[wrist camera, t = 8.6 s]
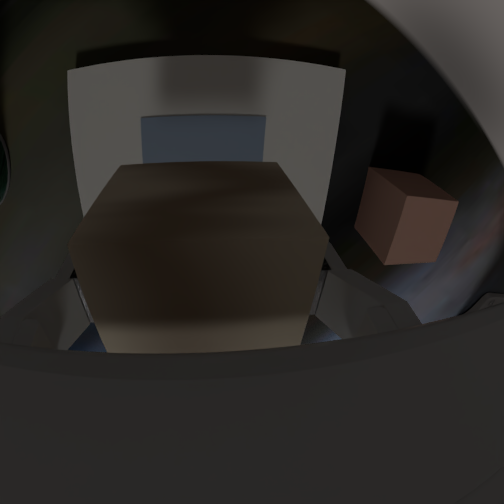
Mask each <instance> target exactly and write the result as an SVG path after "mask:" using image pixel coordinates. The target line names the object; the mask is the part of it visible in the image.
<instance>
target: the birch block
mask: <svg viewBox="0 0 504 504" xmlns="http://www.w3.org/2000/svg"><path fill="white" fill-rule="evenodd" d="M328 240H329V236H328V235H327V233H326V232H325V230H324V229H323V227H322V226H321V224H320V223H319V221H318V220H317V218H316V217H315V215H314V214H313V212H312V211H311V209H310V208H309V207H308V205H307V204H306V202H305V201H304V199H303V198H302V196H301V195H300V194H299V192H298V191H297V189H296V188H295V186H294V185H293V184H292V182H291V181H290V179H289V178H288V177H287V175H286V174H285V173H284V171H283V170H282V168H281V167H280V166H279V164H278V163H277V162H256V161H191V162H163V163H144V164H129V165H120V166H119V168H118V169H117V170H116V172H115V173H114V174H113V176H112V177H111V178H110V180H109V181H108V183H107V184H106V185H105V187H104V188H103V190H102V191H101V192H100V194H99V195H98V197H97V198H96V200H95V201H94V203H93V204H92V206H91V207H90V209H89V210H88V212H87V213H86V215H85V216H84V218H83V220H82V221H81V223H80V224H79V226H78V227H77V229H76V231H75V232H74V234H73V236H72V237H71V239H70V241H69V242H68V244H67V246H68V249H69V253H70V256H71V259H72V262H73V266H74V269H75V272H76V275H77V278H78V281H79V284H80V286H81V289H82V292H83V295H84V297H85V300H86V303H87V305H88V308H89V311H90V313H91V316H92V318H93V321H94V323H95V325H96V328H97V330H98V332H99V335H100V337H101V339H102V342H103V344H104V346H105V348H106V350H107V353H203V352H224V351H240V350H254V349H266V348H276V347H286V346H295V345H300V343H301V340H302V337H303V333H304V330H305V327H306V323H307V320H308V316H309V313H310V309H311V306H312V302H313V299H314V295H315V291H316V288H317V284H318V280H319V276H320V272H321V269H322V265H323V261H324V257H325V253H326V249H327V244H328Z"/></svg>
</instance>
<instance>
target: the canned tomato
mask: <svg viewBox="0 0 504 504" xmlns="http://www.w3.org/2000/svg"><path fill="white" fill-rule="evenodd" d="M10 173H11V169H10V159H9V154H8V150H7V147H6V144H5V141H4V139H3V137H2V135H1V133H0V204H1V203H2V202H3V200H4V198H5V197H6V194H7V191H8V189H9V183H10Z"/></svg>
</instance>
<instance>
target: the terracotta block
mask: <svg viewBox="0 0 504 504" xmlns="http://www.w3.org/2000/svg"><path fill="white" fill-rule="evenodd" d="M458 203H459V202H458V201H457V200H456V199H454V198H453V197H452V196H450V195H449V194H448V193H446V192H445V191H444V190H442V189H441V188H439V187H438V186H436V185H435V184H434V183H432V182H431V181H429V180H428V179H426V178H425V177H423V176H422V175H420V174H416V173H410V172H403V171H397V170H390V169H382V168H374V167H369V169H368V174H367V178H366V182H365V187H364V191H363V195H362V199H361V203H360V207H359V211H358V215H357V219H356V223H355V229H356V230H357V231H358V232H359V234H360V235H361V236H362V237H363V238H364V240H365V241H366V242H367V243H368V245H369V246H370V247H371V249H372V250H373V251H374V252H375V254H376V255H377V256H378V258H379V259H380V260H381V262H382V263H383V264H384V265H392V264H409V263H426V262H435V261H436V259H437V257H438V255H439V252H440V250H441V248H442V245H443V243H444V240H445V238H446V235H447V233H448V230H449V228H450V225H451V222H452V220H453V217H454V214H455V211H456V209H457V206H458Z"/></svg>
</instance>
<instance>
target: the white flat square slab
mask: <svg viewBox="0 0 504 504" xmlns="http://www.w3.org/2000/svg"><path fill="white" fill-rule="evenodd" d="M345 73H346V70H345V69H340V68H335V67H330V66H324V65H319V64H312V63H306V62H299V61H292V60H283V59H274V58H263V57H250V56H230V55H185V56H165V57H151V58H141V59H132V60H124V61H116V62H110V63H103V64H98V65H92V66H87V67H82V68H77V69H72V70H68V104H69V119H70V131H71V141H72V149H73V157H74V165H75V172H76V178H77V184H78V190H79V196H80V201H81V206H82V211H83V216H85V215H86V213H87V212H88V210H89V209H90V207H91V206H92V204H93V203H94V201H95V200H96V198H97V197H98V195H99V194H100V192H101V191H102V190H103V188H104V187H105V185H106V184H107V183H108V181H109V180H110V178H111V177H112V176H113V174H114V173H115V172H116V170H117V169H118V168H119V166H120V165H129V164H144V163H163V162H191V161H256V162H277V163H278V164H279V166H280V167H281V168H282V170H283V171H284V173H285V174H286V175H287V177H288V178H289V179H290V181H291V182H292V184H293V185H294V186H295V188H296V189H297V191H298V192H299V194H300V195H301V196H302V198H303V199H304V201H305V202H306V204H307V205H308V207H309V208H310V209H311V211H312V212H313V214H314V215H315V217H316V218H317V220H318V221H319V223H320V224H321V223H322V218H323V213H324V208H325V202H326V197H327V192H328V186H329V181H330V175H331V170H332V164H333V158H334V152H335V145H336V139H337V133H338V126H339V119H340V112H341V105H342V97H343V89H344V81H345Z"/></svg>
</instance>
